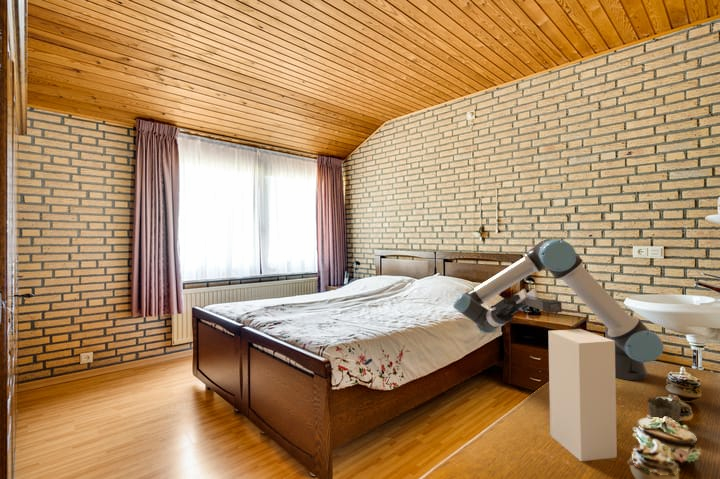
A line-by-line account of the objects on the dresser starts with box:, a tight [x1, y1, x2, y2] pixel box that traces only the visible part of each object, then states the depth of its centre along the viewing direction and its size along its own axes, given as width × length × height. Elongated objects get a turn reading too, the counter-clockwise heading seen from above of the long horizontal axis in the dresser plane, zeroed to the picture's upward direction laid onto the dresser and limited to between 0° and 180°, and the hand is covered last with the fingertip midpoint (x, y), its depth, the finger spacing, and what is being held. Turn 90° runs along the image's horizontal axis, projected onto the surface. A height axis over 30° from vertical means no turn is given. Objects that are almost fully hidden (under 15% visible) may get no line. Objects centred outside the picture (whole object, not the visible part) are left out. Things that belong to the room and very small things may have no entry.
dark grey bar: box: [513, 293, 563, 314], centre depth 117 cm, size 4×20×3 cm, turn 7°
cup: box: [647, 396, 682, 424], centre depth 104 cm, size 8×7×8 cm
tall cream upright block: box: [547, 328, 618, 462], centre depth 98 cm, size 10×12×30 cm
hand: (530, 292), depth 119 cm, fingers closed on dark grey bar, 3 cm apart
